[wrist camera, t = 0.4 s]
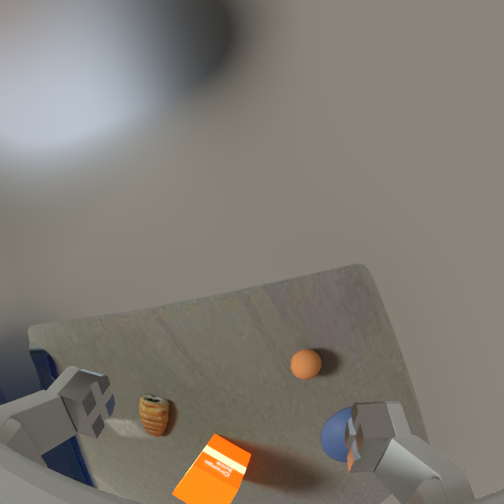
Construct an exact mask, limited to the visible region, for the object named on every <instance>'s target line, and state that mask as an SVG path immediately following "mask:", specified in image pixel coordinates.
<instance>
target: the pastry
mask: <svg viewBox="0 0 504 504" xmlns="http://www.w3.org/2000/svg"><path fill="white" fill-rule="evenodd" d="M139 410H140V417H141V420H142V423H143V425H144V428H145V429H146V431H147V432H148V433H149V434H151V435H154V436H155V437H158V436H160V435H162V434H163V432H164V430H165V428H166V425H167V422H168V412H169V402H168V401H167V400H165V399H163V398H158V397H153V396H151V395H144V396H142V397H141V400H140V405H139Z"/></svg>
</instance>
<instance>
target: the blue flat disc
mask: <svg viewBox="0 0 504 504" xmlns="http://www.w3.org/2000/svg"><path fill="white" fill-rule="evenodd" d="M351 409H352V407H350V408H346V409H344V410H341V411H339V412H338V413H336V414H335V415H333V416H332V417H331V418H330V419H329V420H328V421H327V423H326V424H325V426H324V428H323V430H322V434H321V443H322V447H323V449H324V451H325V452H326V453H327V454H328V455H329V456H330V457H331V458H333V459H335V460H337V461H341V462H347V456H348V453H349V451H350V450H348V449H347V448H346V446H345V429H346V425H347V421H348V420H349V419H350V418H352V416H351Z"/></svg>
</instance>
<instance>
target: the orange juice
mask: <svg viewBox="0 0 504 504" xmlns="http://www.w3.org/2000/svg"><path fill="white" fill-rule="evenodd" d="M250 456H251V454H250V453H248V452H246V451H244V450H242V449H241V448H239V447H237V446H235V445H234V444H232V443H230V442H228V441H227V440H225V439H223V438H222V437H220V436H218V435H217V434H214V435H213V437H212V438H211V440H210V441H209V442H208V444H207V445H206V447H205V448H204V449H203V451H202V452H201V454H200V455H199V456H198V458H197V459H196V461H195V462H194V463H193V465H192V466H191V468H190V469H189V470H188V472H187V473H186V474H185V476H184V478H183V479H182V480H181V482H180V483H179V484H178V486H177V487H176V489H175V491H174V492H173V495H174V496H176V497H178V498H179V499H181V500H183V501H184V502H186V503H188V504H230V503H231V501H232V499H233V498H234V496H235V494H236V493H237V491H238V489H239V486H240V483H241V481H242V478H243V475H244V474H245V471H246V467H247V465H248V462H249V459H250Z"/></svg>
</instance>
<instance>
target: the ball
mask: <svg viewBox="0 0 504 504" xmlns="http://www.w3.org/2000/svg"><path fill="white" fill-rule="evenodd" d="M320 369H321V359H320V357H319V355H318V354H317V353H316V352H315V351H313V350H310V349H303V350H300V351H298V352H297V353H296V354H295V355H294V356H293V357H292V360H291V370H292V372H293V373H294V375H295V376H297V377H298V378H301V379H310V378H313V377H314V376H316V375H317V374H318V373H319V371H320Z"/></svg>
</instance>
